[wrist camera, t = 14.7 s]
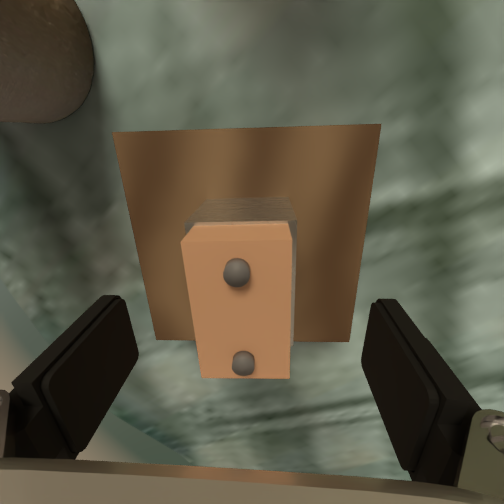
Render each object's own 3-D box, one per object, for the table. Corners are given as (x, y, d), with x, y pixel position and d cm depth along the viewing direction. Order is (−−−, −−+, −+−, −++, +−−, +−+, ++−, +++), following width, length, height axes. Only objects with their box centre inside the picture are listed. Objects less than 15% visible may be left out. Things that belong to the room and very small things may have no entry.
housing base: (288, 196, 16) (297, 220, 12) (286, 295, 19) (293, 345, 14) (206, 198, 16) (184, 222, 12) (216, 295, 19) (201, 345, 15)
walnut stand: (353, 127, 19) (381, 123, 14) (333, 304, 25) (349, 342, 20) (147, 133, 20) (111, 132, 15) (175, 303, 26) (156, 339, 21)
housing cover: (288, 223, 12) (293, 244, 9) (286, 347, 14) (290, 387, 12) (193, 226, 12) (176, 247, 10) (209, 347, 15) (199, 386, 12)
